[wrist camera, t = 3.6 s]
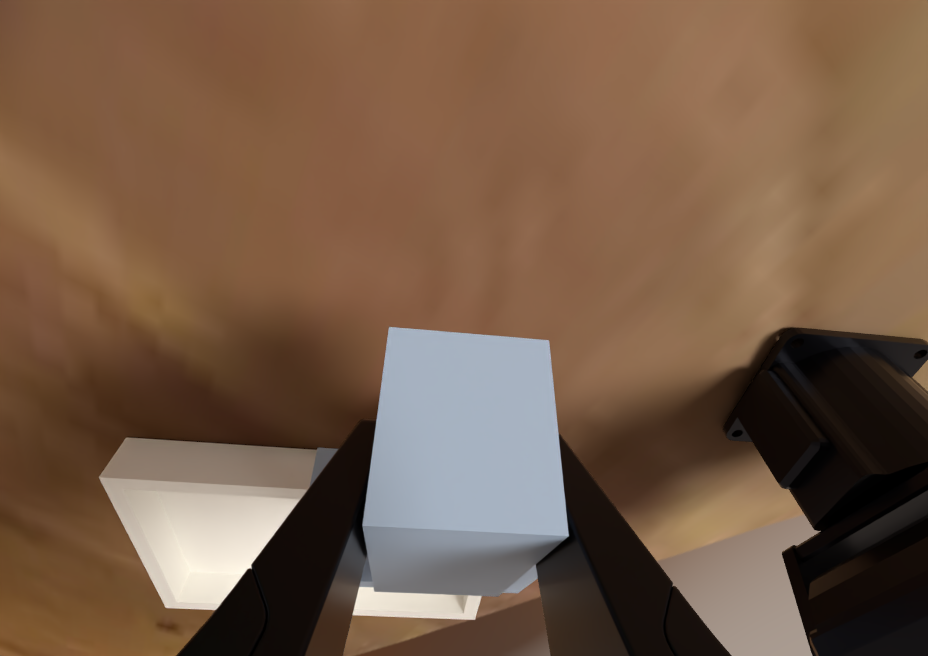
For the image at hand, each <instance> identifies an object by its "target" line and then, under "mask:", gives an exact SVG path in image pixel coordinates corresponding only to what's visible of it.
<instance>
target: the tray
mask: <svg viewBox="0 0 928 656" xmlns="http://www.w3.org/2000/svg"><path fill="white" fill-rule="evenodd" d="M316 453H317V450H312V449H297V448H281V447H266V446H251V445H235V444H220V443H204V442H189V441H174V440H158V439H143V438H128V437H126V438H125V440H124V441H123V443H122V444H121V446H120V447H119V449H118V450H117V452H116V453H115V454H114V456H113V457H112V459H111V460H110V462H109V463H108V465H107V466H106V467H105V469H104V470H103V472H102V473H101V475H100V476H99V479H100V481H101V483H102V485H103V487H104V489H105V491H106V492H107V494H108V496H109V498H110V500H111V502H112V504H113V506H114V508H115V510H116V512H117V514H118V516H119V518H120V520H121V522H122V524H123V526H124V527H125V529H126V531H127V533H128V535H129V537H130V539H131V541H132V543H133V545H134V547H135V549H136V551H137V553H138V555H139V557H140V559H141V561H142V562H143V564H144V566H145V568H146V570H147V572H148V574H149V576H150V578H151V580H152V582H153V584H154V586H155V588H156V590H157V592H158V594H159V595H160V597H161V599H162V601H163V603H164V605H165V607H166V608H179V609H205V610H216V609H217V608H218V607H219V605H220V604H221V603H222V602H223V600H224V599H225V598H226V597H227V595H228V594H229V593H230V591H231V590H232V589H233V588H234V586H235V585H236V584H237V582H238V581H239V580H240V578H241V577H242V576H243V574H244V573H245V572H246V570H247V569H249V568H251V564H252V563H253V561H254V560H255V559H256V557H257V556H258V555H259V554H260V552H261V551H262V550H263V548H264V547H265V546H266V544H267V543H268V542H269V540H270V539H271V538H272V536H273V535H274V534H275V532H276V531H277V530H278V528H279V527H280V526H281V524H282V523H283V522H284V520H285V519H286V518H287V516H288V515H289V514H290V512H291V511H292V510H293V508H294V507H295V506H296V504H297V503H298V502H299V500H300V499H301V498H302V496H303V495H304V494H305V493H306V491H307V490H308V489H309V487H310V482H311V477H312V472H313V468H314V463H315V458H316ZM251 569H252V568H251ZM481 597H482V596H470V595H445V594H419V593H394V592H374V587H359V590H358V594H357V598H356V602H355V606H354V611H353V615H362V616H389V617H415V618H441V619H467V620H475V617H476V614H477V610H478V607H479V604H480V600H481Z"/></svg>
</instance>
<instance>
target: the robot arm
mask: <svg viewBox="0 0 928 656" xmlns="http://www.w3.org/2000/svg"><path fill="white" fill-rule="evenodd" d="M794 340H795V341H794ZM927 360H928V342H927V341H925V340H923V339H915V338H904V337H894V336H883V335H872V334H861V333H850V332H839V331H829V330H818V329H807V328H792V329H789V330H787V331H786V332H784V333H783V334H782V335H781V337H780V338H779V340H778V341H777V343H776V345H775V346H774V348H773V349H772V351H771V352H770V354H769V356H768V357H767V359H766V360H765V362H764V364H763V365H762V367H761V368H760V370H759V371H758V373H757V375H756V376H755V378H754V379H753V381H752V383H751V384H750V386H749V387H748V389H747V390H746V392H745V394H744V395H743V397H742V398H741V400H740V402H739V403H738V405H737V406H736V408H735V409H734V411H733V413H732V414H731V416H730V417H729V419H728V421H727V422H726V424H725V425H724V427H723V432H724V433H725V435H726V437H727V438H728V439H729V440H733V441H747V442H753V443H754V445H755V447H756V448H757V450H758V451H759V453H760V455H761V456H762V458H763V459H764V461H765V463H766V464H767V466H768V468H769V469H770V471H771V472H772V474H773V476H774V477H775V479H776V481H777V482H778V484H779V485H780V486H781V487H782V488H784V489H789V490H790V492H791V494H792V495H793V497H794V498H795V500H796V501H797V503H798V505H799V506H800V508H801V509H802V511H803V513H804V514H805V516H806V517H807V519H808V520H809V522H810V524H811V525H812V527H813V528H814V530H817V531H821V532H819V533H818V534H816V535H814V536H813V537H811V538H809V539H808V540H806V541H804V542H803V543H801V544H800V545H798V546H795V545H793V546H791V547H789V548H788V549H786V550H785V551H783V552H782V556H783V559H784V563H785V566H786V569H787V573H788V576H789V579H790V582H791V586H792V589H793V593H794V595H795V599H796V603H797V606H798V609H799V613H800V616H801V619H802V623H803V626H804V629H805V632H806V636H807V639H808V643H809V646H810V649H811V653H812V655H813V656H928V391H926V390H925V389H924V388H923V387H922V386H921V385H920V384H919V383H918V382H917V381H916V380H914V379H913V378H912V377H913V376H914V374H915V373H916V372H917V371H918V370H919V369H920V368H921V367H922V365H923V364H924V363H925V362H926V361H927ZM376 421H377V420H376V419H362V420H360V421H359V422H358V424H357V425H356V426H355V428H354V429H353V430H352V432H351V433H350V434H349V436H348V437H347V438H346V439H345V441H344V442H343V443H342V445H341V446H340V447H339V449H338V450H337V451H336V453H335V454H334V455H333V457H332V458H331V459H330V461H329V462H328V463H327V465H326V466H325V467H324V469H323V470H322V471H321V473H320V474H319V475H318V477H317V478H316V479H315V481H314V482H313V483H312V485H311V486H310V487H309V489H308V490H307V491H306V493H305V494H304V495H303V496H302V498H301V499H300V500H299V502H298V503H297V504H296V506H295V507H294V508H293V510H292V511H291V512H290V514H289V515H288V516H287V518H286V519H285V520H284V522H283V523H282V524H281V526H280V527H279V528H278V530H277V531H276V532H275V534H274V535H273V536H272V538H271V539H270V540H269V542H268V543H267V544H266V546H265V547H264V548H263V550H262V551H261V552H260V554H259V555H258V556H257V557H256V559H255V560H254V561H253V563H252V564H251V568H252V569H251V568H249V569H247V570H246V572H245V573H244V574H243V576H242V577H241V578H240V580H239V581H238V582H237V584H236V585H235V586H234V588H233V589H232V590H231V591H230V593H229V594H228V595H227V597H226V598H225V599H224V600H223V602H222V603H221V604H220V605H219V607H218V608H217V609H216V610H215V612H214V613H213V614H212V615H211V617H210V618H209V619H208V620H207V621H206V622H205V624H204V625H203V626H202V627H201V628H200V629H199V630H198V632H197V633H196V634H195V635H194V636H193V637H192V638H191V640H190V641H189V642H188V643H187V644H186V645H185V646H184V648H183V649H182V650H181V651H180V652H179V653H178V654H177V655H176V656H343V652H344V648H345V643H346V639H347V635H348V631H349V627H350V623H351V619H352V615H353V611H354V606H355V602H356V598H357V594H358V590H359V586H360V582H361V578H362V573H363V569H364V565H365V561H366V557H367V548H366V542H365V537H364V531H363V518H364V511H365V503H366V496H367V488H368V481H369V474H370V466H371V459H372V451H373V444H374V436H375V429H376ZM558 435H559V445H560V455H561V465H562V475H563V484H564V494H565V504H566V514H567V524H568V534H569V536H568V537H567V538H566V539H565V540H564V541H562V542H561V543H560V544H559V545H558V546H557V547H555V548H554V549H553V550H552V551H551V552H550V553H548V554H547V555H546V556H545V557H544V558H543V559H541V560H540V561H539V562H538V563H537V564H536V570H537V576H538V582H539V588H540V594H541V600H542V606H543V612H544V617H545V624H546V630H547V636H548V643H549V649H550V654H551V656H731V655H730V653H729V652H728V651H727V650H726V649H725V648H724V647H723V645H722V644H721V643H720V642H719V641H718V640H717V638H716V637H715V636H714V635H713V633H712V632H711V631H710V630H709V628H707V626H706V625H705V624H704V622H703V621H702V620H701V618H700V617H699V616H698V615H697V613H696V612H695V611H694V610H693V608H692V607H691V606H690V604H689V603H688V602H687V601H686V599H685V598H684V597H683V595H682V594H681V593H680V591H679V590H678V589H677V587H675V586H673V587H672V585H673V583H672V581H671V580H670V578H669V577H668V576H667V575H666V573H665V572H664V570H663V569H662V568H661V567H660V565H659V564H658V563H657V561H656V560H655V559H654V557H653V556H652V555H651V553H650V552H649V551H648V549H647V548H646V547H645V545H644V544H643V543H642V542H641V540H640V539H639V538H638V536H637V535H636V534H635V532H634V531H633V530H632V528H631V527H630V526H629V524H628V523H627V522H626V520H625V519H624V518H623V516H622V515H621V514H620V513H619V511H618V510H617V509H616V507H615V506H614V505H613V503H612V502H611V501H610V499H609V498H608V497H607V495H606V494H605V493H604V491H603V490H602V489H601V487H600V486H599V485H598V484H597V482H596V481H595V480H594V478H593V477H592V476H591V474H590V473H589V472H588V470H587V469H586V468H585V466H584V465H583V464H582V462H581V461H580V460H579V459H578V457H577V456H576V455H575V453H574V452H573V451H572V449H571V448H570V447H569V445H568V444H567V443H566V441H565V440H564V439H563V437H562V436H561V435H560V434H559V433H558Z"/></svg>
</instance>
